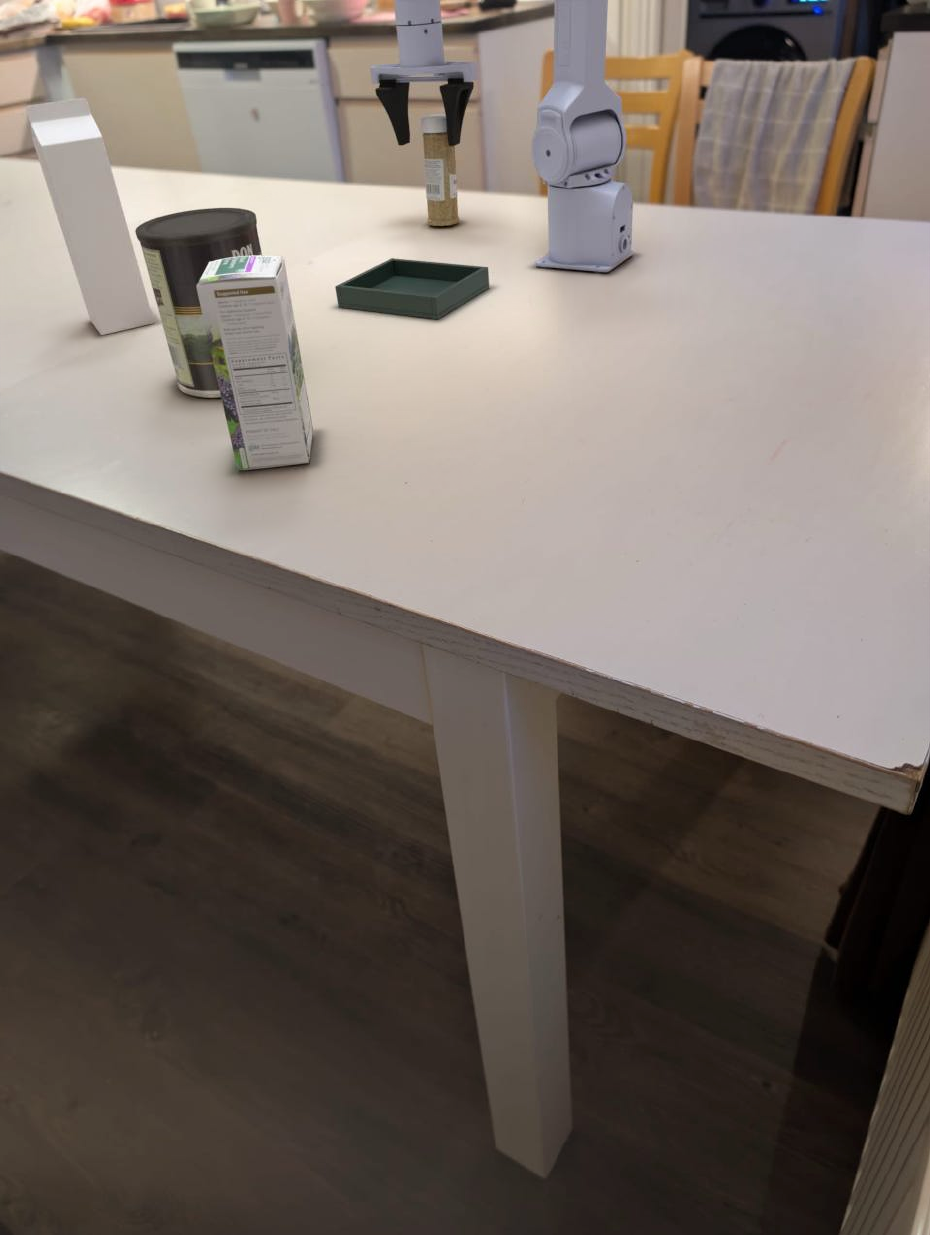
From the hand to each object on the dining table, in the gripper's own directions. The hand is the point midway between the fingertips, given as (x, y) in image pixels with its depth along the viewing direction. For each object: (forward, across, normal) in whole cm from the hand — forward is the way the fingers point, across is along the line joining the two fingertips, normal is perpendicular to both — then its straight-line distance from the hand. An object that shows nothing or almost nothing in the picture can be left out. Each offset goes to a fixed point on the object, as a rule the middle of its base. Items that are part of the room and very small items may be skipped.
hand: (429, 144), depth 121 cm
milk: (+11, +17, +45) cm, 49 cm away
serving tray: (+10, -12, +29) cm, 33 cm away
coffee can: (+10, -6, +55) cm, 56 cm away
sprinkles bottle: (+10, -1, -1) cm, 10 cm away
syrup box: (+10, -20, +67) cm, 71 cm away
